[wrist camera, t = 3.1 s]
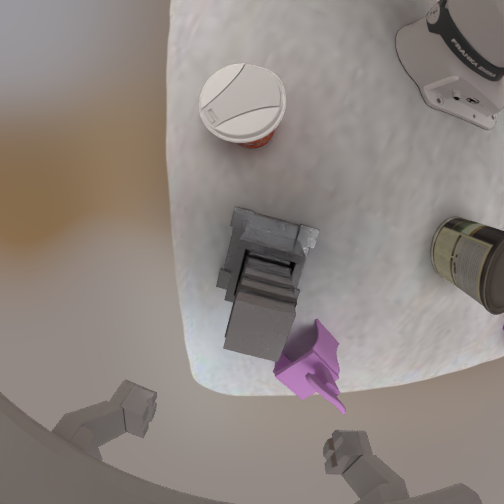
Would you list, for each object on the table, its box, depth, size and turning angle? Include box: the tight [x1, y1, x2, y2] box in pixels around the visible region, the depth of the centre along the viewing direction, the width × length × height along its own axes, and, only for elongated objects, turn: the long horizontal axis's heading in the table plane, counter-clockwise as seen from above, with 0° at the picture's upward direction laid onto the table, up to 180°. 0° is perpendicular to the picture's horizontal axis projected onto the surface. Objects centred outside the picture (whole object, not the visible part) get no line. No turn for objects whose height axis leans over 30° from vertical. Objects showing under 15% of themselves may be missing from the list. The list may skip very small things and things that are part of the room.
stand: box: [216, 207, 320, 302], centre depth 32 cm, size 11×11×10 cm
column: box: [223, 250, 297, 362], centre depth 26 cm, size 4×4×18 cm
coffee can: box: [431, 217, 504, 315], centre depth 28 cm, size 10×10×14 cm
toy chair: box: [273, 319, 346, 415], centre depth 34 cm, size 8×9×15 cm
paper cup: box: [199, 63, 286, 148], centre depth 26 cm, size 8×8×14 cm
